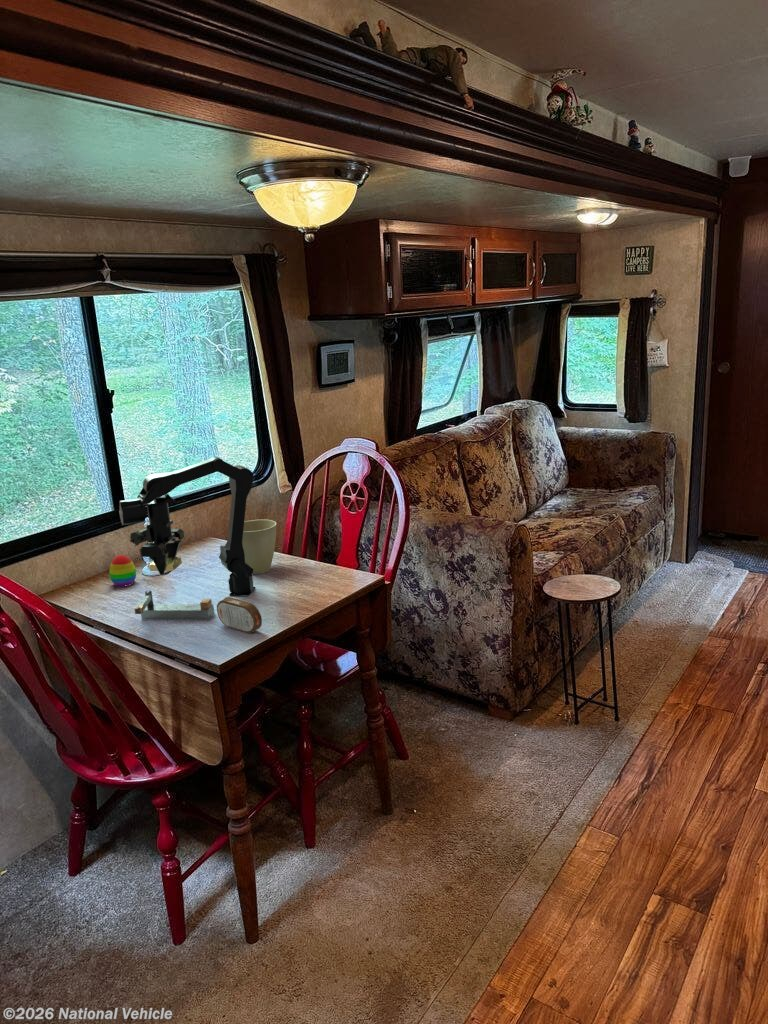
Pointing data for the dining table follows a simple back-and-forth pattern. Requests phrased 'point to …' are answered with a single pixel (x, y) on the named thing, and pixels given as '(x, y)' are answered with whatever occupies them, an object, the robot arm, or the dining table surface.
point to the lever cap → (168, 564)
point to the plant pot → (259, 544)
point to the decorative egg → (122, 571)
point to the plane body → (180, 611)
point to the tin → (239, 615)
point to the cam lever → (144, 603)
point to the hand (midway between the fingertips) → (166, 570)
